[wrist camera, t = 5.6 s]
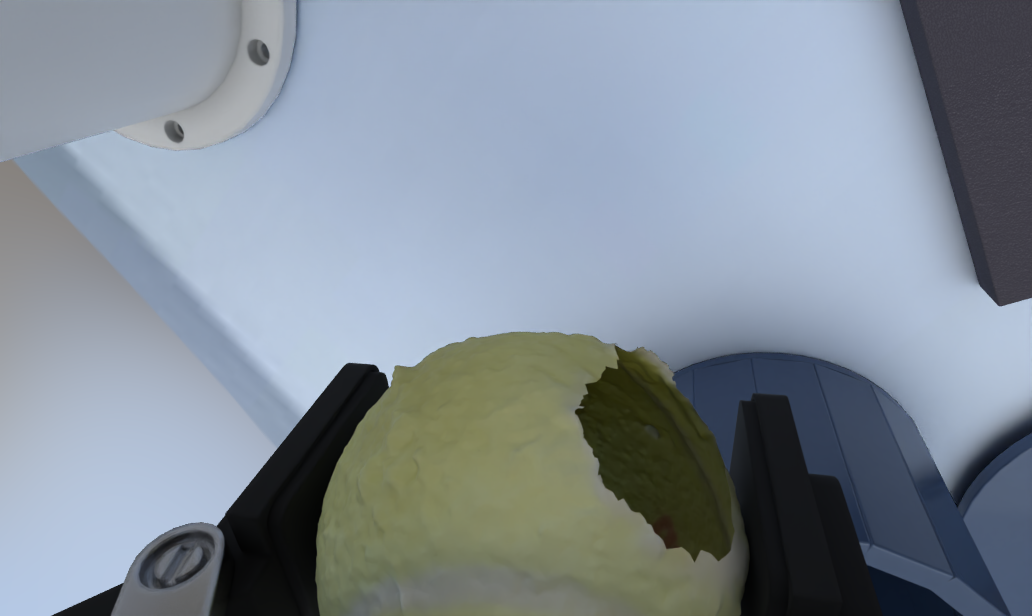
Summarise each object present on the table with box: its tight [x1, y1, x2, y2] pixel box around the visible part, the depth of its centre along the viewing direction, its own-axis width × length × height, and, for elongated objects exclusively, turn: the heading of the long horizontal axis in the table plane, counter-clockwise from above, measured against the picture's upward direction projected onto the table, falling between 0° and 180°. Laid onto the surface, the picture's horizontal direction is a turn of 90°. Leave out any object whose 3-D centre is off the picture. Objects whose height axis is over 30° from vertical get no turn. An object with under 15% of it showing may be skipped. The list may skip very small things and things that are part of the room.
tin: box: [672, 353, 1011, 616], centre depth 23 cm, size 13×13×9 cm
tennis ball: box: [315, 332, 750, 616], centre depth 10 cm, size 6×7×7 cm
